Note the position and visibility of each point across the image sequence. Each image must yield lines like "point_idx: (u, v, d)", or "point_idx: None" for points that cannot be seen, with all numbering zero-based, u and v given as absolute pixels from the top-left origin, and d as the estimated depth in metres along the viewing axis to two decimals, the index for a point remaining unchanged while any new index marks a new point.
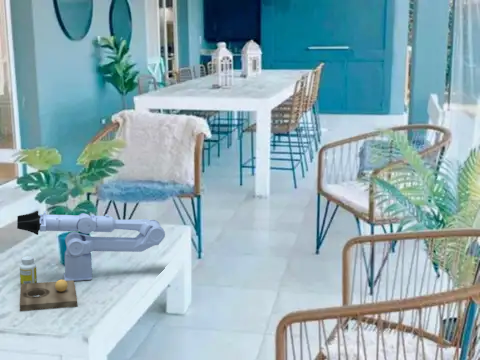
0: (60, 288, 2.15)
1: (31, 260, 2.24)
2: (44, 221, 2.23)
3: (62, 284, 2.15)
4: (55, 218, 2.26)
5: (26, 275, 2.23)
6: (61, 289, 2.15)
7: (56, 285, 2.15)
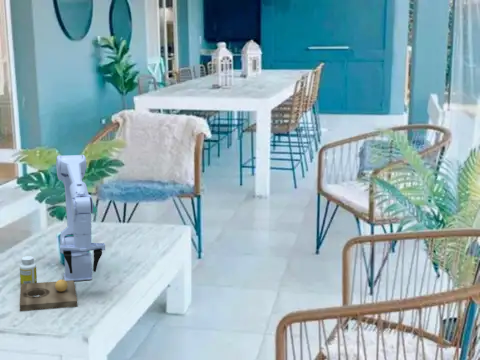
0: (60, 288, 2.15)
1: (31, 260, 2.24)
2: (96, 247, 2.16)
3: (62, 284, 2.15)
4: (89, 237, 2.14)
5: (26, 275, 2.23)
6: (61, 289, 2.15)
7: (56, 285, 2.15)
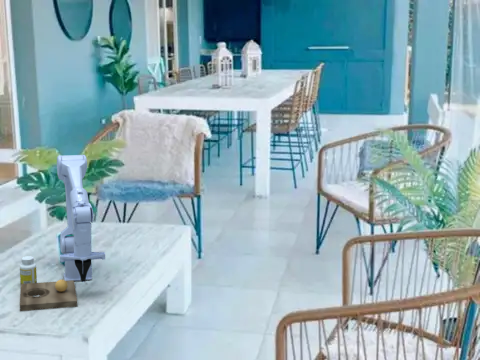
0: (60, 288, 2.15)
1: (31, 260, 2.24)
2: (96, 256, 2.16)
3: (62, 284, 2.15)
4: (89, 246, 2.15)
5: (26, 275, 2.23)
6: (61, 289, 2.15)
7: (56, 285, 2.15)
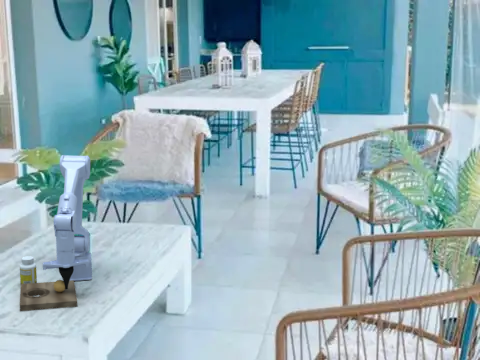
0: (59, 289, 2.15)
1: (31, 260, 2.24)
2: (79, 263, 2.15)
3: (60, 284, 2.15)
4: (72, 253, 2.13)
5: (26, 275, 2.23)
6: (60, 290, 2.15)
7: (54, 287, 2.15)
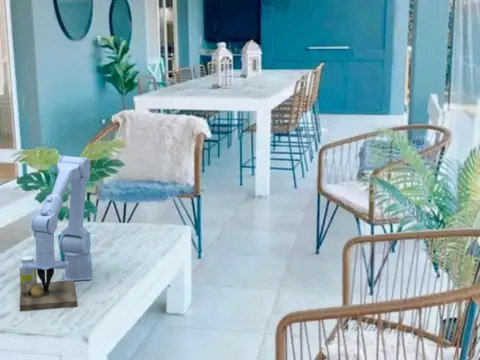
0: (38, 290, 2.14)
1: (31, 260, 2.24)
2: (59, 265, 2.13)
3: (39, 294, 2.14)
4: (51, 255, 2.12)
5: (26, 275, 2.23)
6: (36, 290, 2.14)
7: (42, 289, 2.16)
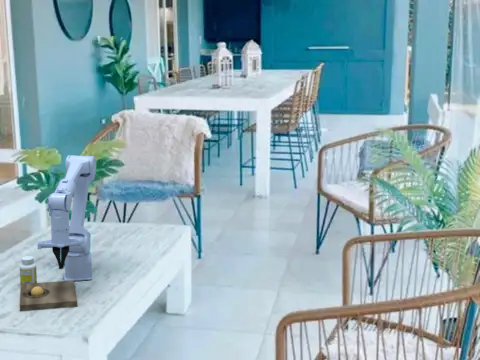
0: (38, 291, 2.14)
1: (31, 260, 2.24)
2: (74, 243, 2.16)
3: (39, 295, 2.14)
4: (66, 233, 2.14)
5: (26, 275, 2.23)
6: (37, 291, 2.14)
7: (42, 290, 2.15)
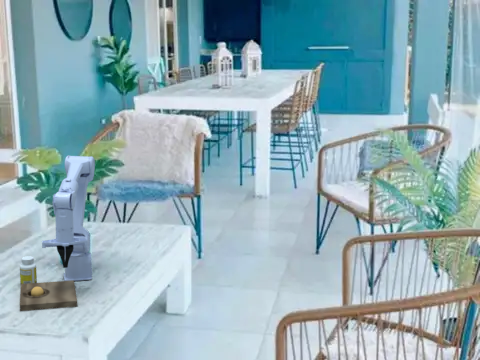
0: (38, 291, 2.14)
1: (31, 260, 2.24)
2: (78, 242, 2.17)
3: None
4: (71, 232, 2.15)
5: (26, 275, 2.23)
6: (37, 291, 2.13)
7: (42, 290, 2.15)
